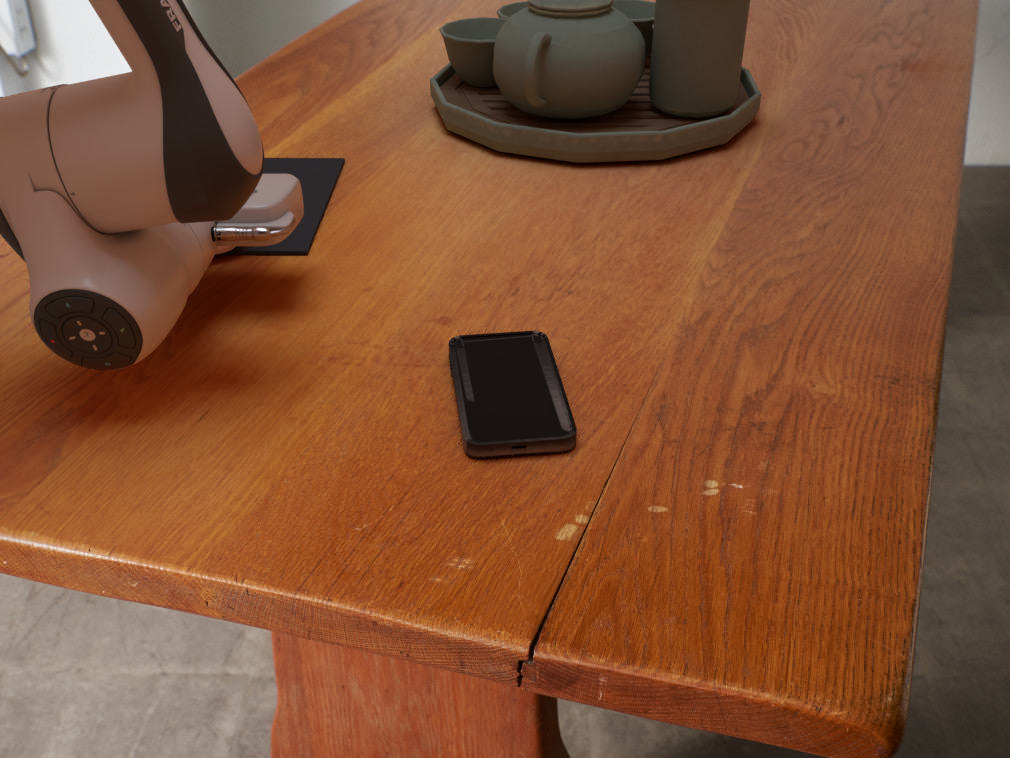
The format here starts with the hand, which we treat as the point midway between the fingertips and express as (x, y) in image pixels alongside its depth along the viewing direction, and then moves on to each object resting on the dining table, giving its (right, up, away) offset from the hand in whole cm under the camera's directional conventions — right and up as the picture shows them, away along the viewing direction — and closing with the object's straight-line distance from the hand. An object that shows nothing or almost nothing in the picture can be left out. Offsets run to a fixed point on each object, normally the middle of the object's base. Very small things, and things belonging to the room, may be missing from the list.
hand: (201, 172), depth 90 cm
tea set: (+38, +19, +35) cm, 55 cm away
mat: (0, +1, +12) cm, 12 cm away
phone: (+27, -22, -16) cm, 39 cm away
